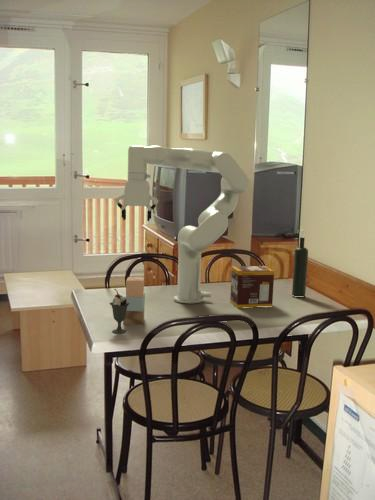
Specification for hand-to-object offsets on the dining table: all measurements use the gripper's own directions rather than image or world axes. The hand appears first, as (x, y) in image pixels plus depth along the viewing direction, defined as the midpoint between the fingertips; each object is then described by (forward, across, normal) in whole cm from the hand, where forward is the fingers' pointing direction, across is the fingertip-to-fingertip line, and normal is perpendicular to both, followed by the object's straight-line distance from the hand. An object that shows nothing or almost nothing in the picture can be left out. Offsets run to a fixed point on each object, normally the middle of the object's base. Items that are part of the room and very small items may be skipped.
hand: (136, 220), depth 240 cm
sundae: (+34, +2, +39) cm, 52 cm away
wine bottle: (+34, -71, -21) cm, 82 cm away
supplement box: (+35, -48, -4) cm, 59 cm away
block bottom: (+34, -2, +26) cm, 43 cm away
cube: (+24, -2, +26) cm, 36 cm away
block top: (+29, -2, +26) cm, 39 cm away
